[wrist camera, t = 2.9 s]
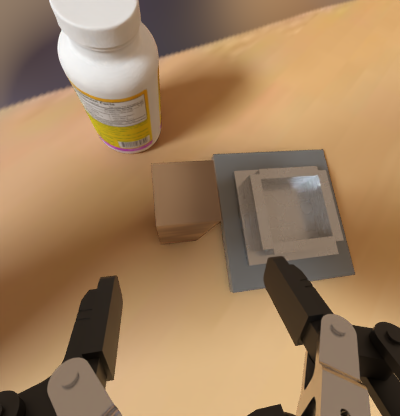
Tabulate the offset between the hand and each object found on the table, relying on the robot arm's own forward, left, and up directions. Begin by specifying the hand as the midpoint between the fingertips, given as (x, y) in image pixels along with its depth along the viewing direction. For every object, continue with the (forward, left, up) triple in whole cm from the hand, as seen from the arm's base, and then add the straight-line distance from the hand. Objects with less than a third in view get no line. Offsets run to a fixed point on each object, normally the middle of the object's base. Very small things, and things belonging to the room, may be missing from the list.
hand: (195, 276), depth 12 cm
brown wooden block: (0, +5, -10) cm, 11 cm away
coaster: (+11, +5, -10) cm, 16 cm away
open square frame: (+11, +5, -9) cm, 15 cm away
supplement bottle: (-4, +16, -10) cm, 19 cm away
